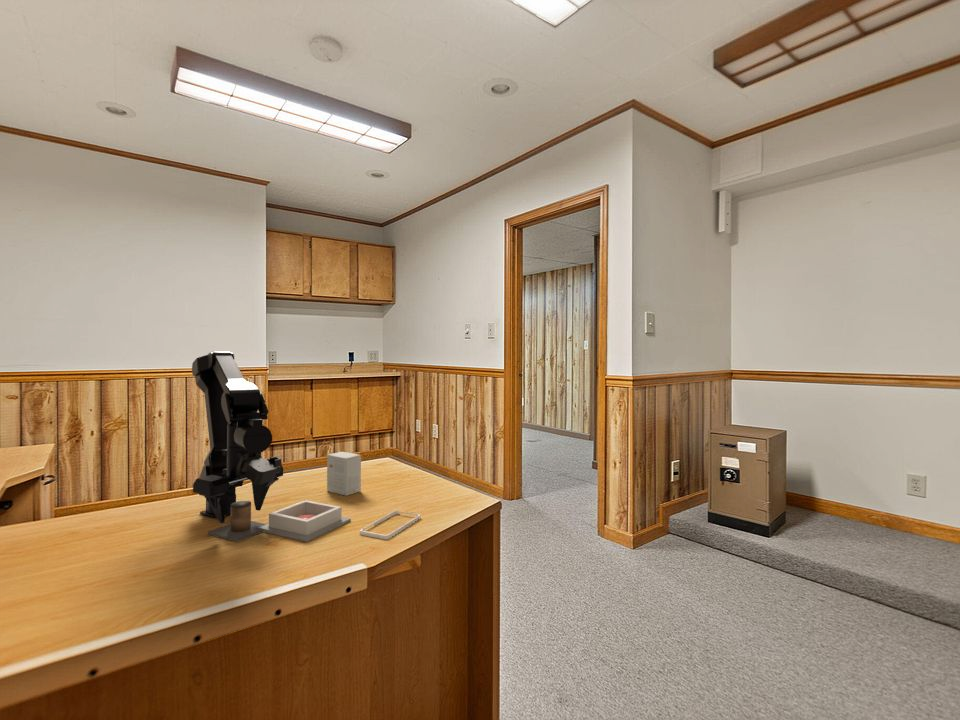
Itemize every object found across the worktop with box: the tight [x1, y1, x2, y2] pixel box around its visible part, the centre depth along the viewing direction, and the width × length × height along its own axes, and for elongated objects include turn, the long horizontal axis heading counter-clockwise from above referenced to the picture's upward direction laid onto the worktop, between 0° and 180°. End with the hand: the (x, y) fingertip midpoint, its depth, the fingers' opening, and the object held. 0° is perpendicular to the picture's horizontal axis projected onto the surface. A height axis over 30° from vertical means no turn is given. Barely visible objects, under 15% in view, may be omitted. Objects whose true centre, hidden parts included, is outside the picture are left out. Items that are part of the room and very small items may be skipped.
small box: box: [326, 451, 362, 496], centre depth 137 cm, size 8×6×10 cm
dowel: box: [229, 500, 252, 532], centre depth 106 cm, size 4×4×6 cm
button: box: [297, 515, 315, 520], centre depth 110 cm, size 4×4×1 cm
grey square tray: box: [258, 499, 351, 543], centre depth 110 cm, size 14×14×4 cm
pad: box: [207, 520, 267, 543], centre depth 106 cm, size 9×9×1 cm
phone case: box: [359, 510, 421, 540], centre depth 111 cm, size 7×1×15 cm
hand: (240, 516), depth 106 cm, fingers open, 9 cm apart
